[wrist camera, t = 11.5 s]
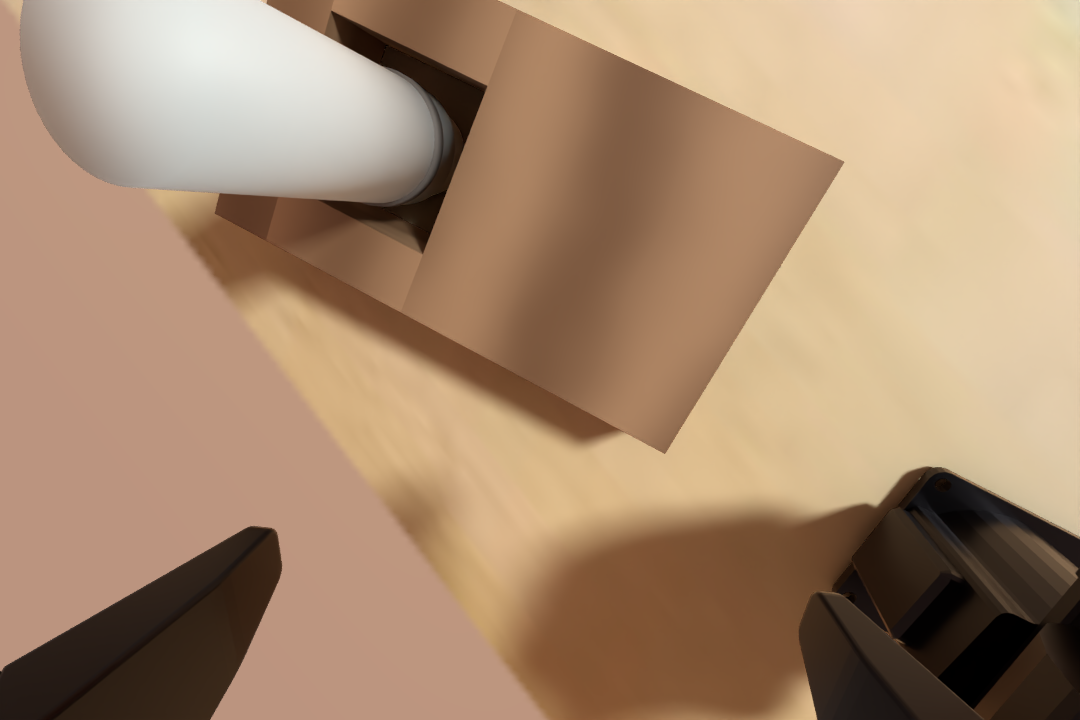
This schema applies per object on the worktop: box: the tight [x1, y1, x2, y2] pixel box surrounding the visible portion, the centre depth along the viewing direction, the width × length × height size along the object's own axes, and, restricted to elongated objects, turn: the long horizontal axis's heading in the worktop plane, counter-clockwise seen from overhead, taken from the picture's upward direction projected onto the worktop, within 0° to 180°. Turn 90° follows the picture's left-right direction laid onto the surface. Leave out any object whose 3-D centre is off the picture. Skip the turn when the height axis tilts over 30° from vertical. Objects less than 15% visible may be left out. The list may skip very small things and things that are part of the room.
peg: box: [20, 0, 464, 207], centre depth 15 cm, size 4×4×12 cm
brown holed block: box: [215, 0, 844, 454], centre depth 19 cm, size 18×10×4 cm, turn 65°
